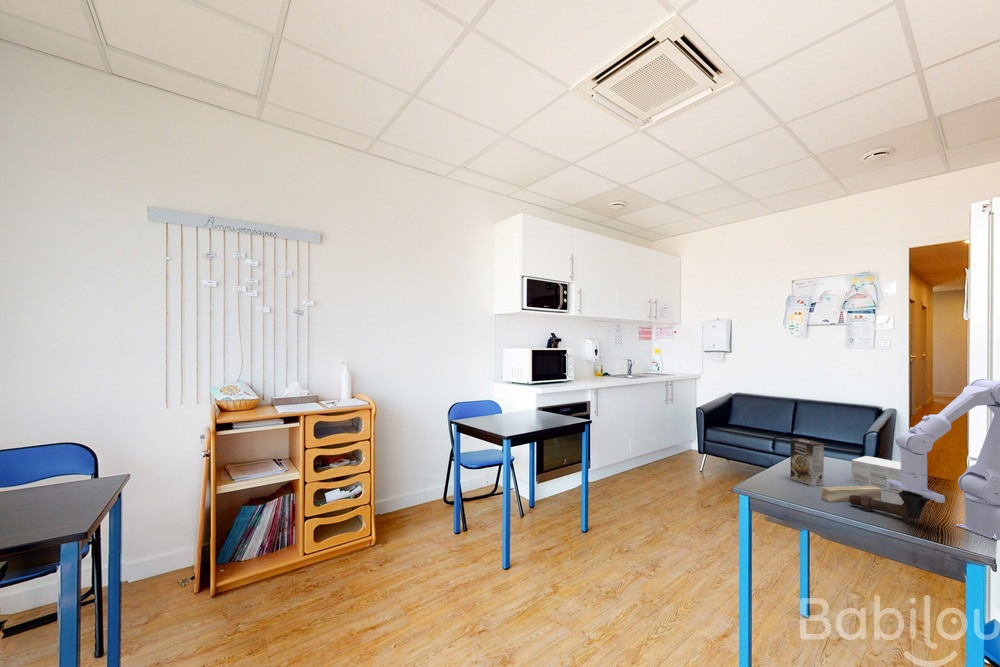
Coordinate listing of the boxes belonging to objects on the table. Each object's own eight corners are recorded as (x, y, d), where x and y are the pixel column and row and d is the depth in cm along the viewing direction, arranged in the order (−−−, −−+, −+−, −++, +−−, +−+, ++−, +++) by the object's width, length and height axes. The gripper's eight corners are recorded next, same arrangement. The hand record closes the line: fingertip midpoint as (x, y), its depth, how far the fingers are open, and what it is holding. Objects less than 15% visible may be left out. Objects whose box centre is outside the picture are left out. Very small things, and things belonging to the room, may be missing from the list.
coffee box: (789, 479, 169) (789, 438, 169) (801, 477, 171) (801, 437, 171) (812, 486, 160) (812, 444, 161) (824, 485, 162) (824, 442, 162)
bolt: (851, 510, 142) (912, 524, 129) (845, 505, 140) (906, 519, 127) (854, 493, 144) (914, 506, 131) (848, 488, 142) (909, 500, 129)
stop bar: (881, 500, 147) (880, 488, 147) (829, 502, 144) (829, 490, 145) (872, 496, 150) (872, 485, 150) (821, 498, 147) (821, 487, 148)
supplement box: (922, 490, 157) (922, 465, 157) (908, 496, 151) (907, 470, 151) (866, 477, 172) (866, 454, 172) (851, 482, 166) (850, 458, 166)
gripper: (877, 465, 134) (878, 509, 134) (929, 480, 120) (930, 529, 119) (897, 465, 135) (897, 508, 135) (950, 480, 121) (951, 528, 120)
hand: (914, 517), depth 127 cm, fingers closed
